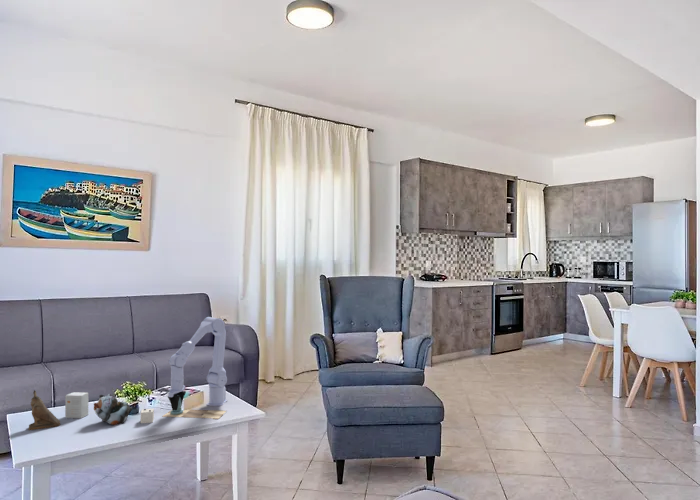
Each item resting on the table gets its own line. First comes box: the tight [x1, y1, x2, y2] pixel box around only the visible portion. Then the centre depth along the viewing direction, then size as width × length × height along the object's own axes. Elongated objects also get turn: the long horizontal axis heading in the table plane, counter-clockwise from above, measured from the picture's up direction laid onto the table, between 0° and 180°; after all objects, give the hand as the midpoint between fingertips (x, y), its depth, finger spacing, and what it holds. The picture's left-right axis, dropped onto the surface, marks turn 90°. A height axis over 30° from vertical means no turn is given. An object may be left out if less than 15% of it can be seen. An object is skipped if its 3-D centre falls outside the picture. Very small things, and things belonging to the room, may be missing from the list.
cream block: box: [140, 408, 155, 424], centre depth 227 cm, size 5×5×6 cm
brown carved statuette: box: [28, 390, 61, 431], centre depth 218 cm, size 12×6×18 cm, turn 117°
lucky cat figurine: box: [93, 393, 133, 426], centre depth 227 cm, size 15×12×14 cm
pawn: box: [170, 398, 183, 415], centre depth 239 cm, size 6×6×8 cm
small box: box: [64, 391, 89, 419], centre depth 234 cm, size 8×6×10 cm
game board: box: [162, 408, 227, 420], centre depth 238 cm, size 12×27×1 cm, turn 85°
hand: (176, 408), depth 239 cm, fingers closed on pawn, 4 cm apart
